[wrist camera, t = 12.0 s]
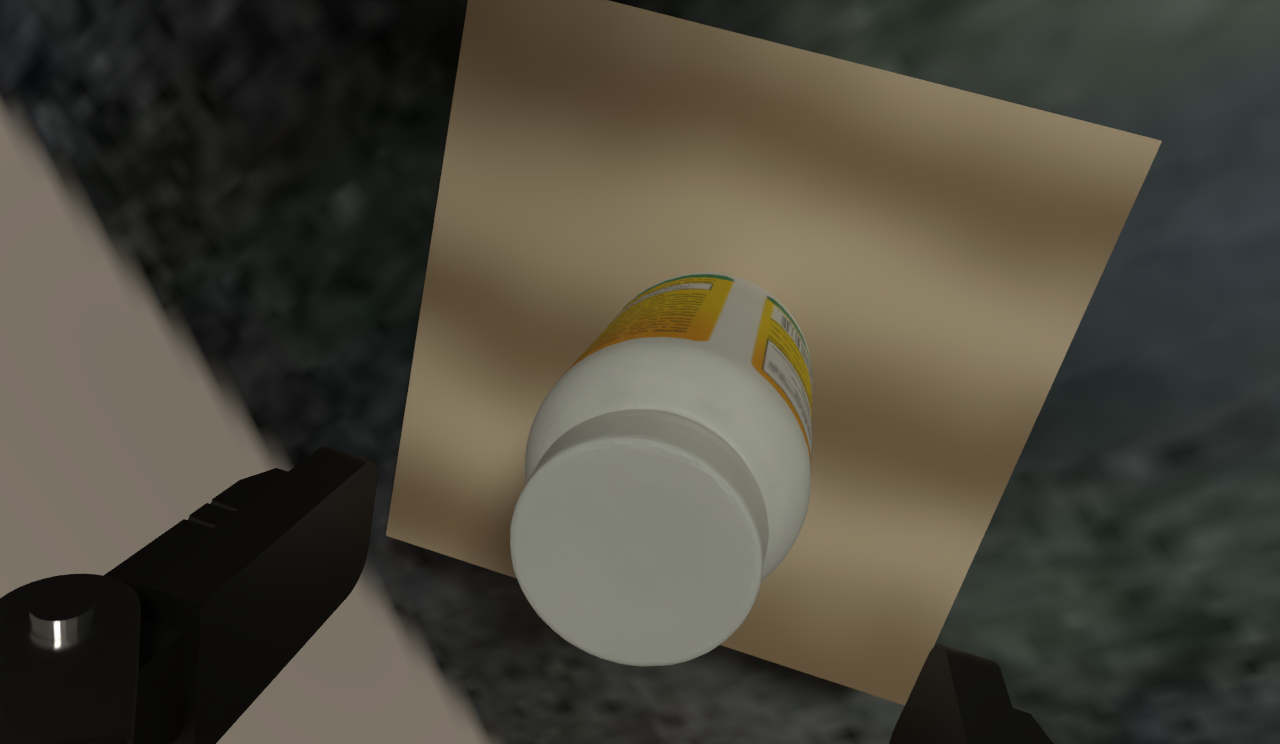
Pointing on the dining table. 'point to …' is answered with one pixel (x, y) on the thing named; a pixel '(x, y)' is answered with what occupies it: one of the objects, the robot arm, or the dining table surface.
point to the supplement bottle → (668, 472)
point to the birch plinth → (779, 263)
